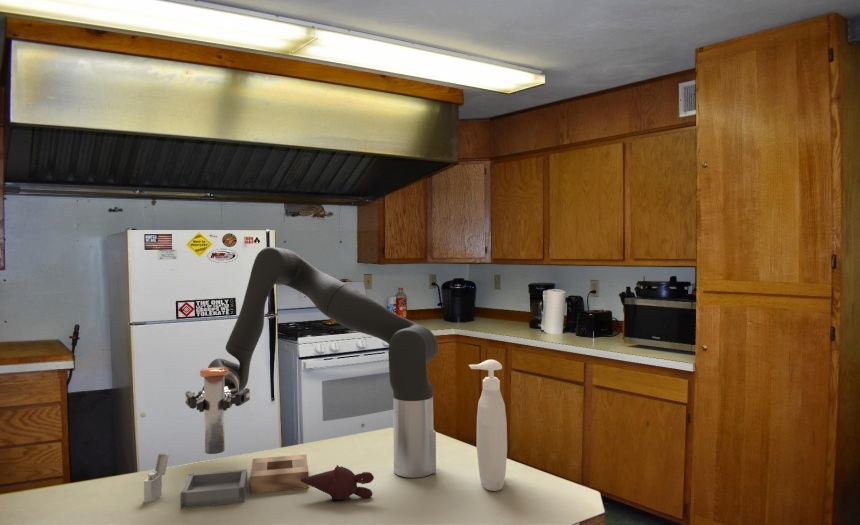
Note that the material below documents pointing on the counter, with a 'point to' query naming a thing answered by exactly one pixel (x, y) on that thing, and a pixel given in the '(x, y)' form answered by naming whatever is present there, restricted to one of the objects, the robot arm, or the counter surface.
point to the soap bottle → (491, 429)
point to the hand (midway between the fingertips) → (213, 406)
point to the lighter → (155, 479)
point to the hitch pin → (214, 409)
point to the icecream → (341, 483)
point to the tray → (214, 488)
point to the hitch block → (278, 473)
